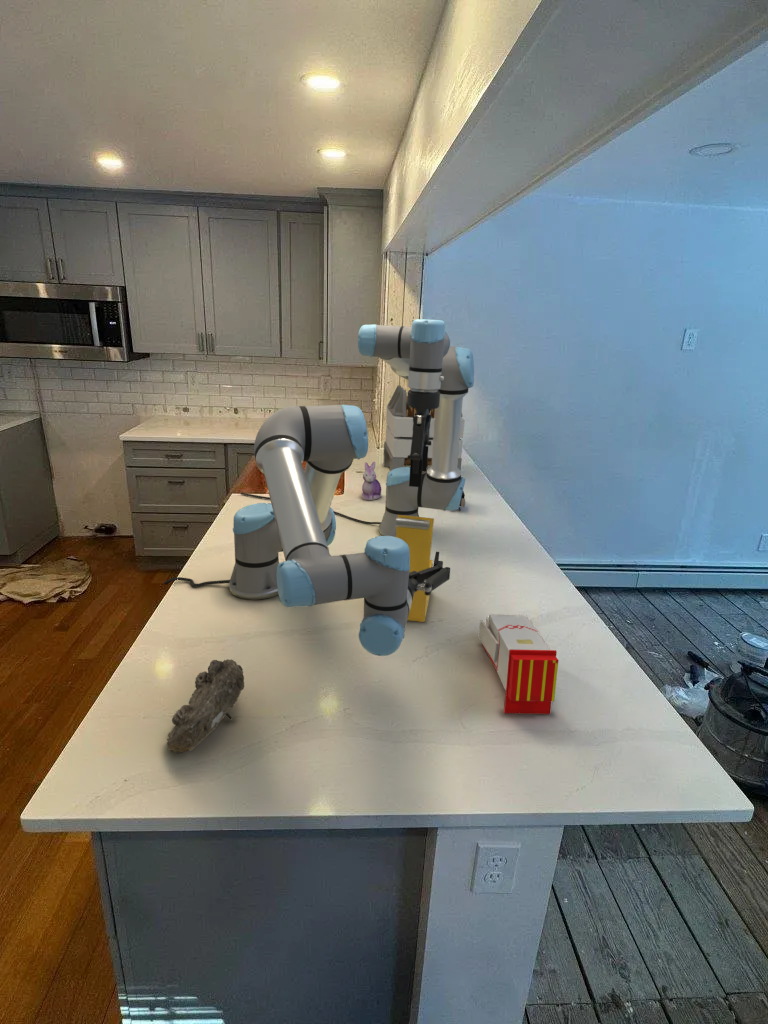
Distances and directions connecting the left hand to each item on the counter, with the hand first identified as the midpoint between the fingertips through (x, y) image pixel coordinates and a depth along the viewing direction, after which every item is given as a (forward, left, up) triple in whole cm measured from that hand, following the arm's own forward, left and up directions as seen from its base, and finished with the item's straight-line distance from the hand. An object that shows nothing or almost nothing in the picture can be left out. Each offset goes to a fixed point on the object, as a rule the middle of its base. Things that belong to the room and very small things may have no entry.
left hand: (407, 553), depth 129 cm
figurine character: (+7, +102, -22) cm, 105 cm away
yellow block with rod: (0, +13, -4) cm, 13 cm away
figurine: (-28, +104, -22) cm, 110 cm away
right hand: (0, +15, +14) cm, 20 cm away
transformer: (-12, +147, -22) cm, 149 cm away
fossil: (-32, -35, -22) cm, 52 cm away
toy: (+25, -8, -22) cm, 35 cm away
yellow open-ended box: (0, +17, -22) cm, 28 cm away
